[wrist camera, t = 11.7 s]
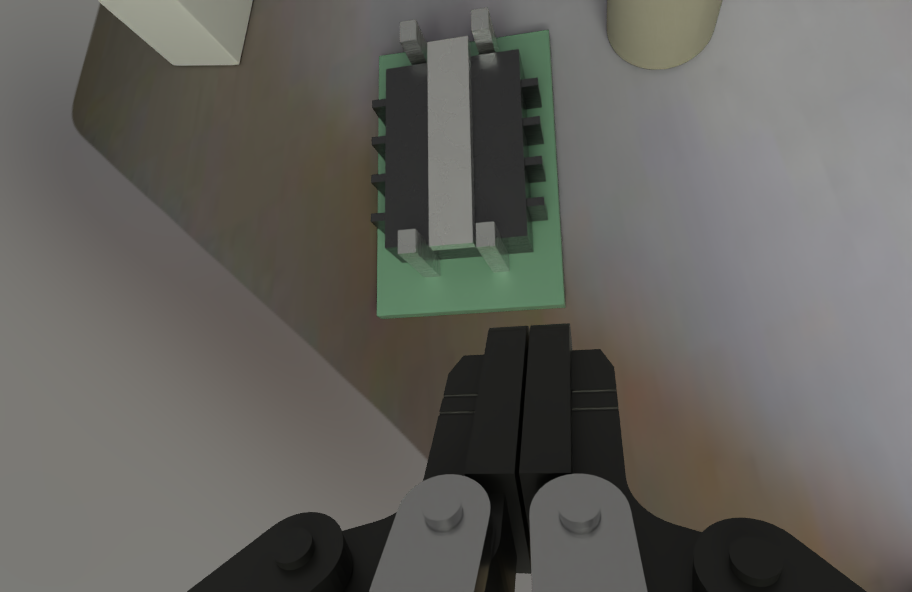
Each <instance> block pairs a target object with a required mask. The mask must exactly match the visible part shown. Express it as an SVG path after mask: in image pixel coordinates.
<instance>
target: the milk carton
mask: <svg viewBox="0 0 912 592" xmlns="http://www.w3.org/2000/svg"><path fill="white" fill-rule="evenodd" d="M98 1H99V2H100V3H101V4H102V5H103V6H105V7H106V8H107V9H108V10H109V11H110V12H112V13H113V14H114V15H115V16H116V17H117V18H119V19H120V20H121V21H122V22H123V23H124V24H126V25H127V26H128V27H129V28H130V29H131V30H133V31H134V32H135V33H136V34H137V35H138V36H140V37H141V38H142V39H143V40H144V41H145V42H147V43H148V44H149V45H150V46H151V47H152V48H154V49H155V50H156V51H157V52H158V53H159V54H161V55H162V56H163V57H164V58H165V59H166V60H168V61H169V62H170V63H171V64H172V65H176V66H188V65H239V63H240V59H241V54H242V49H243V45H244V40H245V35H246V31H247V26H248V21H249V17H250V12H251V7H252V2H253V0H98Z"/></svg>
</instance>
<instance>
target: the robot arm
mask: <svg viewBox="0 0 912 592" xmlns="http://www.w3.org/2000/svg"><path fill="white" fill-rule="evenodd" d="M516 573H530V574H531V576H532V592H866V591H865V590H864V589H862V588H861V587H860V586H858V585H857V584H856V583H854V582H853V581H852V580H850V579H849V578H848V577H846V576H845V575H844V574H842V573H841V572H840V571H838V570H837V569H836V568H835V567H833V566H832V565H831V564H829V563H828V562H827V561H825V560H824V559H823V558H821V557H820V556H819V555H817V554H816V553H815V552H813V551H812V550H811V549H809V548H808V547H807V546H805V545H804V544H803V543H801V542H800V541H799V540H797V539H796V538H795V537H793V536H792V535H791V534H789V533H788V532H786V531H785V530H783V529H781V528H779V527H777V526H775V525H773V524H770V523H767V522H764V521H761V520H756V519H750V518H731V519H725V520H722V521H719V522H716V523H714V524H712V525H711V526H709V527H708V528H707V529H705V530H704V531H703V532H699V531H695V530H692V529H689V528H685V527H682V526H678V525H675V524H672V523H669V522H666V521H664V520H662V519H660V518H658V517H656V516H654V515H653V514H651V513H650V512H648V511H647V510H646V509H645V508H643V507H642V506H641V505H640V504H639V503H638V502H637V500H636V499H635V498H634V497H633V495H632V493H631V492H630V490H629V487H628V485H627V481H626V475H625V466H624V456H623V447H622V438H621V428H620V419H619V411H618V400H617V391H616V381H615V371H614V366H613V365H612V364H611V363H610V361H609V360H608V359H607V357H606V356H605V355H604V353H603V352H602V351H601V350H600V349H593V350H572V340H571V330H570V323H568V324H551V325H533V326H531V327H530V331H529V327H528V326H518V327H500V328H490V329H489V331H488V337H487V342H486V348H485V354H484V355H469V356H463V357H462V358H461V359H460V361H459V362H458V363H457V364H456V366H455V367H454V368H453V369H452V370H451V372H450V373H449V374H448V379H447V383H446V387H445V391H444V398H443V400H442V404H441V408H440V416H438V421H437V425H436V429H435V433H434V438H433V442H432V446H431V450H430V454H429V459H428V463H427V467H426V471H425V476H424V479H423V482H421V483H419V484H418V485H416V486H415V487H414V488H413V489H411V490H410V491H409V492H408V493H407V494H406V496H405V497H404V499H403V500H402V501H401V504H400V506H399V508H398V511H397V512H396V513H395V514H393V515H391V516H389V517H387V518H385V519H382V520H379V521H376V522H373V523H369V524H365V525H362V526H358V527H355V528H351V529H348V530H344V531H342V530H341V528H340V526H339V525H338V524H337V522H336V521H335V520H334V519H332V518H331V517H330V516H327V515H325V514H322V513H316V512H308V513H300V514H296V515H293V516H290V517H288V518H286V519H284V520H282V521H280V522H278V523H277V524H275V525H274V526H273V527H271V528H270V529H268V530H267V531H266V532H265V533H263V534H262V535H261V536H259V537H258V538H257V539H255V540H254V541H253V542H252V543H250V544H249V545H248V546H246V547H245V548H244V549H242V550H241V551H240V552H238V553H237V554H236V555H234V556H233V557H232V558H230V559H229V560H228V561H227V562H225V563H224V564H223V565H221V566H220V567H219V568H217V569H216V570H215V571H213V572H212V573H211V574H210V575H208V576H207V577H206V578H204V579H203V580H202V581H201V582H199V583H198V584H196V585H195V586H194V587H193V588H191V589H190V590H189V591H187V592H514V591H515V576H516Z"/></svg>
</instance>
